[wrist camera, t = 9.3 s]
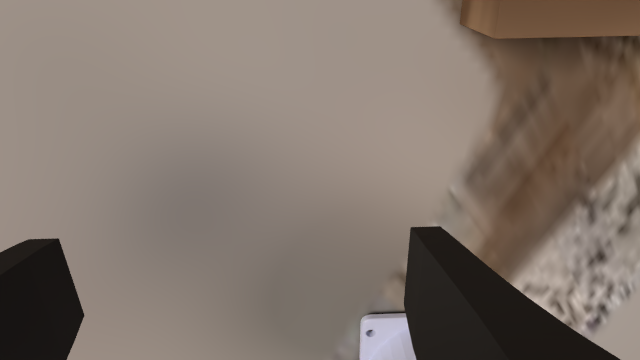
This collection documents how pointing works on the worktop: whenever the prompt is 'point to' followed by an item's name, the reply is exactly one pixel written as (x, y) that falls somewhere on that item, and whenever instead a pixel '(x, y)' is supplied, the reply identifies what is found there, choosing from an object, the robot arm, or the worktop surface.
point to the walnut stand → (552, 18)
